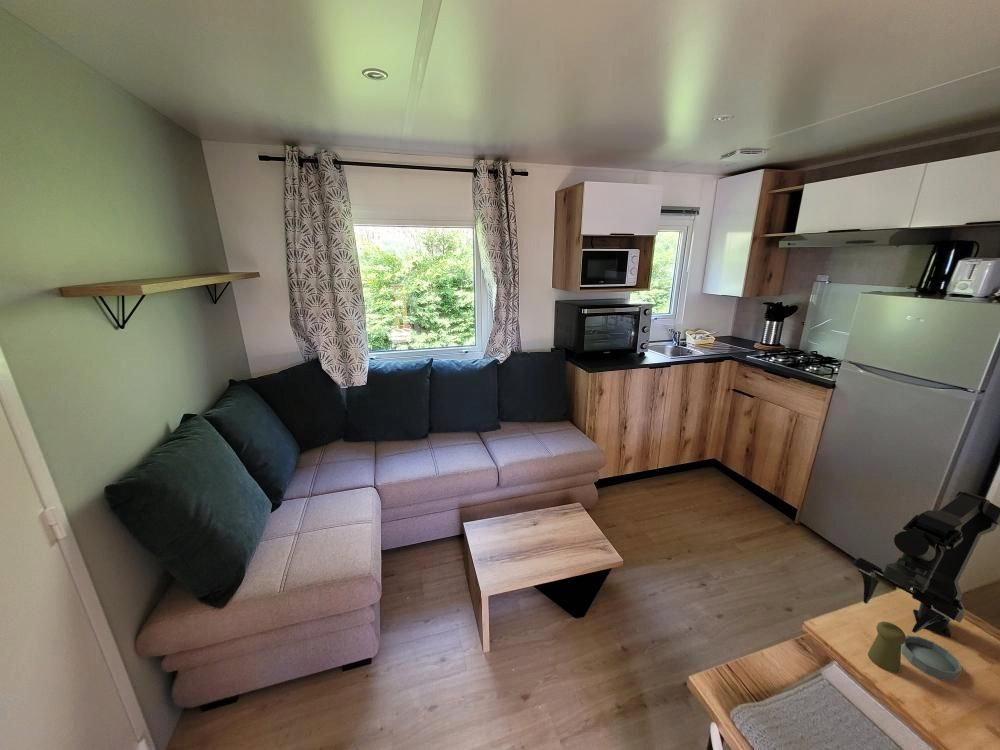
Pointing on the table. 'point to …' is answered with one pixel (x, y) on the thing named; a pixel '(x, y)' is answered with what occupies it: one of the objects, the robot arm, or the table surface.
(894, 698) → the table surface
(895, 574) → the robot arm
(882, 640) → the cork
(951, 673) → the gray bowl
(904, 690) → the table surface
